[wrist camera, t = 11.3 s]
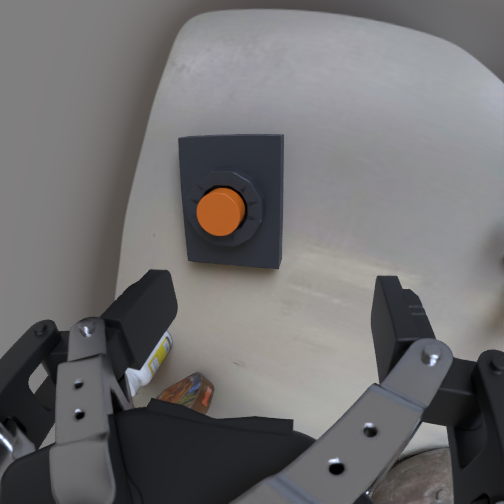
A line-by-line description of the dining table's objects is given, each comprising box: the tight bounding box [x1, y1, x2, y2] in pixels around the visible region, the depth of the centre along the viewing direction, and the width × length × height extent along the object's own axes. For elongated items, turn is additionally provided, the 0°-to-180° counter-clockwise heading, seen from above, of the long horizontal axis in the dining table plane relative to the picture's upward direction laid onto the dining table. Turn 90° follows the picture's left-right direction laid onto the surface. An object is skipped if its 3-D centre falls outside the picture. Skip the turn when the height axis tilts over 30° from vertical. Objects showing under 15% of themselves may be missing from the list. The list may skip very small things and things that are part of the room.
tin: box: [156, 373, 214, 415], centre depth 39 cm, size 15×3×8 cm, turn 135°
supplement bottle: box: [125, 331, 172, 397], centre depth 35 cm, size 5×5×10 cm
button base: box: [178, 134, 284, 269], centre depth 27 cm, size 12×9×4 cm
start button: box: [197, 188, 245, 236], centre depth 25 cm, size 4×4×2 cm
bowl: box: [371, 448, 454, 504], centre depth 35 cm, size 24×24×15 cm
